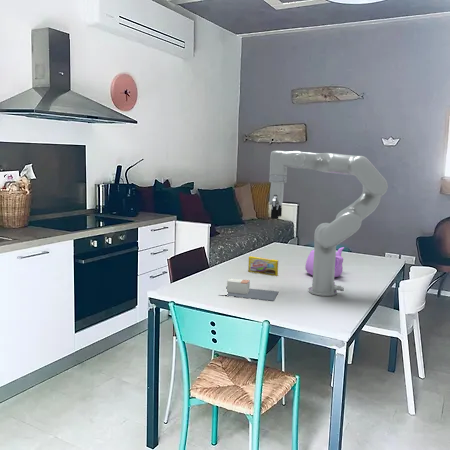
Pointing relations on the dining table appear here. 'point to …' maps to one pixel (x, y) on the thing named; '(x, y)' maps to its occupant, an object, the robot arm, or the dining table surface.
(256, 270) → the candy box
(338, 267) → the teapot
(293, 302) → the dining table surface
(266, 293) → the mat
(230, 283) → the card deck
